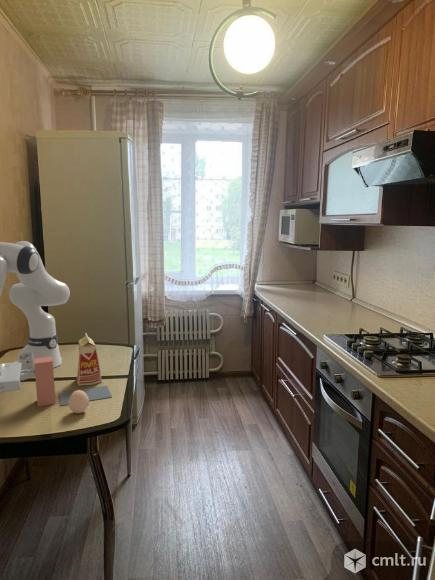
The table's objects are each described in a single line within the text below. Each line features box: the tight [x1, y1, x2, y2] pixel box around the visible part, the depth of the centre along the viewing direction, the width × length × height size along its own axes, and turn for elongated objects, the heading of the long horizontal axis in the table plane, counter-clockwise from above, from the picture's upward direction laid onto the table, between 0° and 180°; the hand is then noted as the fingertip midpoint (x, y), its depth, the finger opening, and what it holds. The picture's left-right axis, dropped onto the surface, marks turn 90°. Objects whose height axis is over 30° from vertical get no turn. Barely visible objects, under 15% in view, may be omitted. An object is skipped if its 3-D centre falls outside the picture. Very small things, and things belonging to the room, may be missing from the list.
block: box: [34, 357, 57, 407], centre depth 149 cm, size 6×6×16 cm
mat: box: [58, 385, 113, 407], centre depth 155 cm, size 18×12×1 cm, turn 113°
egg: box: [68, 389, 90, 414], centre depth 141 cm, size 7×7×8 cm
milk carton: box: [76, 332, 103, 387], centre depth 168 cm, size 9×9×20 cm
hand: (35, 373), depth 147 cm, fingers closed, pressing on block
